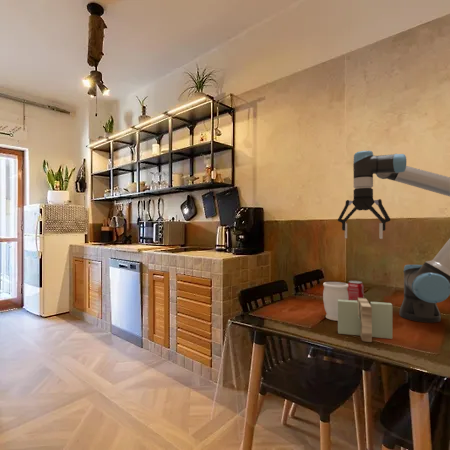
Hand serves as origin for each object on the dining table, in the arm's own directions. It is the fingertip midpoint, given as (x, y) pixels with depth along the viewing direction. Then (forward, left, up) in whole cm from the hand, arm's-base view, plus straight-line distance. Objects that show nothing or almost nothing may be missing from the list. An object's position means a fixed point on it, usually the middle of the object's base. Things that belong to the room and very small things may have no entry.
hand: (363, 238), depth 127 cm
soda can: (+1, -19, -35) cm, 40 cm away
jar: (+11, 0, -35) cm, 37 cm away
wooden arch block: (+2, +18, -35) cm, 39 cm away
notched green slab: (+2, +18, -35) cm, 39 cm away
